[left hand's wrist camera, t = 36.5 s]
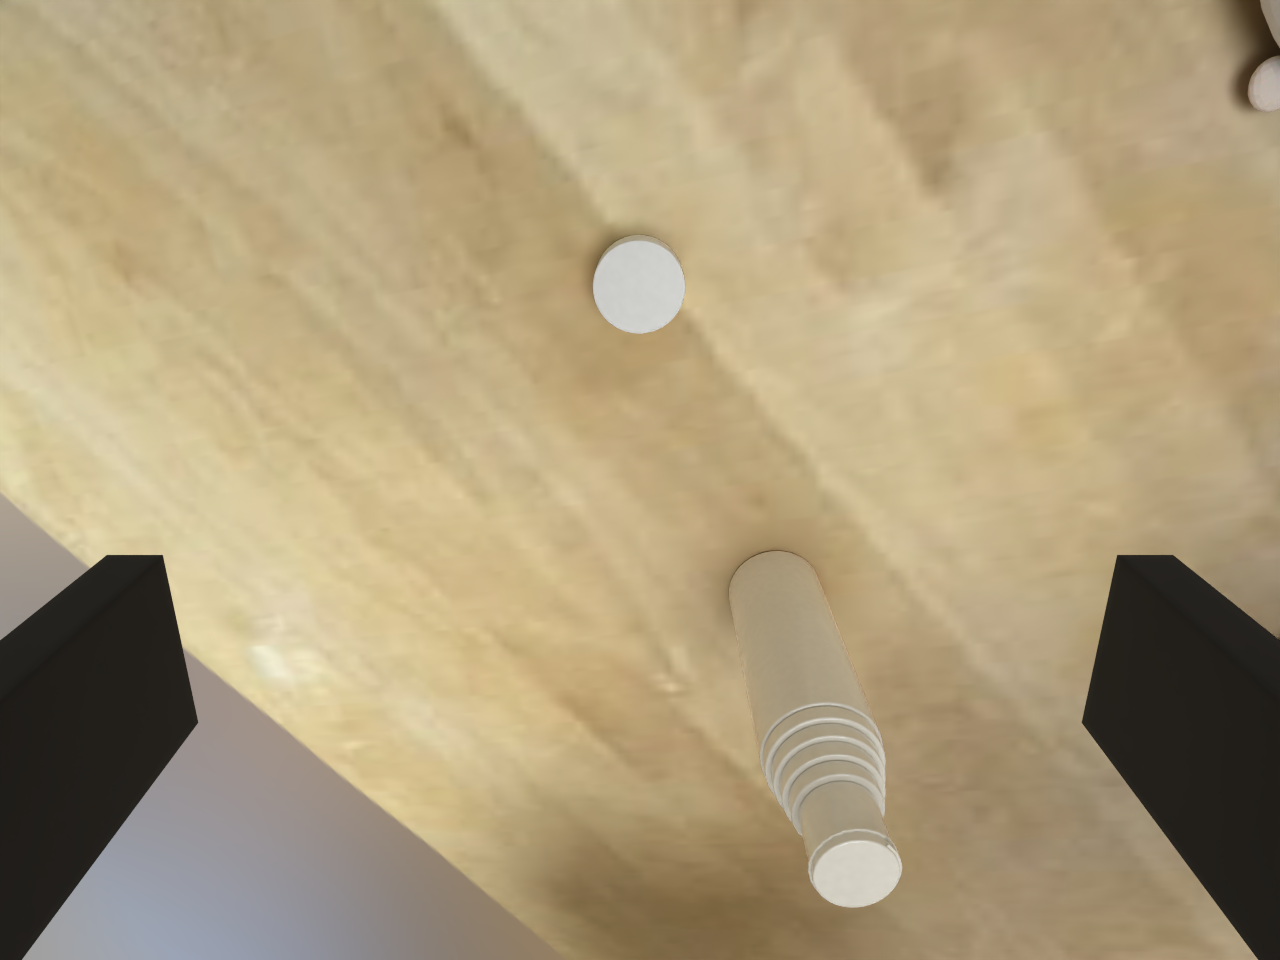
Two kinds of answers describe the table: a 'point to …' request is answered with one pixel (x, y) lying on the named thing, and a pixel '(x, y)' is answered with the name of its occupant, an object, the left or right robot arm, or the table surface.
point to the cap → (639, 284)
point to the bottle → (814, 728)
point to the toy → (1267, 66)
